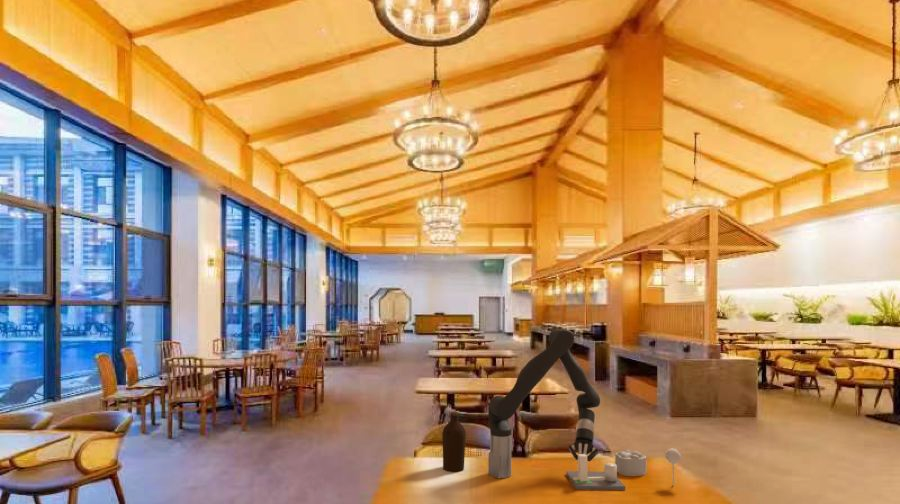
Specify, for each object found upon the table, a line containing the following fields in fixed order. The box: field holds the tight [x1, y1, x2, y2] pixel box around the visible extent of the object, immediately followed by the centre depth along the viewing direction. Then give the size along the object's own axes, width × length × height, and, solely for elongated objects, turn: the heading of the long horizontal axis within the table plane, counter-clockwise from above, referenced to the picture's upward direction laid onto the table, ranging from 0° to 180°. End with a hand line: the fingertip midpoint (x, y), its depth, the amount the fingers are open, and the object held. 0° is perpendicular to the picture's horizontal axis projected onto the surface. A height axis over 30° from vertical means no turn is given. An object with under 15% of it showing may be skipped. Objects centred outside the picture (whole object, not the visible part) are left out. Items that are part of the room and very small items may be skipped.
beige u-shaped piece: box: [573, 453, 618, 482], centre depth 223 cm, size 18×5×10 cm, turn 96°
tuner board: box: [565, 470, 626, 491], centre depth 225 cm, size 20×18×2 cm
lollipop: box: [664, 447, 682, 486], centre depth 223 cm, size 6×6×15 cm
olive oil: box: [441, 410, 467, 473], centre depth 240 cm, size 11×11×25 cm
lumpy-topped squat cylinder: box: [614, 449, 648, 477], centre depth 240 cm, size 10×13×9 cm
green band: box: [574, 480, 593, 483], centre depth 221 cm, size 7×4×1 cm, turn 96°
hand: (581, 468), depth 224 cm, fingers closed
